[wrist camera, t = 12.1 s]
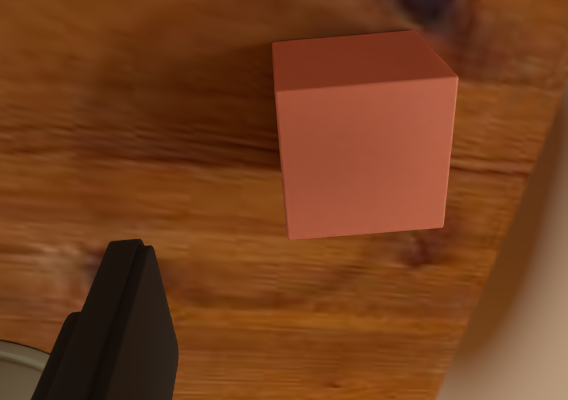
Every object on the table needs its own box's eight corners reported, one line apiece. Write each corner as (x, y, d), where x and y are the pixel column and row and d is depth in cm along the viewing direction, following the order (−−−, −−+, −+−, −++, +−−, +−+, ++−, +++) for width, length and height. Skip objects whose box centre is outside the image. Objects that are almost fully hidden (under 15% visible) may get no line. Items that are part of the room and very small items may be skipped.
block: (271, 41, 17) (274, 92, 13) (414, 29, 17) (459, 76, 13) (282, 167, 19) (287, 241, 15) (407, 156, 19) (444, 228, 15)
